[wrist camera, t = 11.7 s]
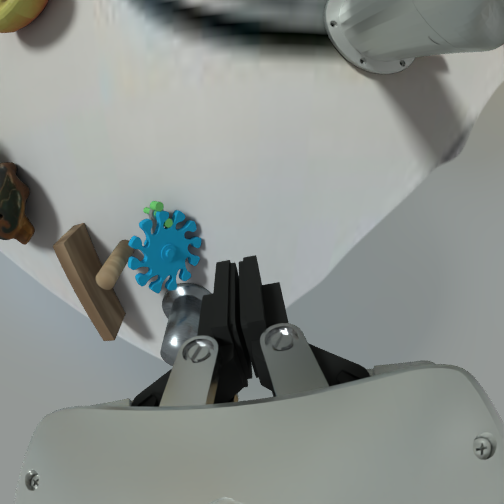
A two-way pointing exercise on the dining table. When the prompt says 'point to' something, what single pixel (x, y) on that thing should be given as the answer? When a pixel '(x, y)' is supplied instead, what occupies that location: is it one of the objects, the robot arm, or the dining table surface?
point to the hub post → (181, 317)
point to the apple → (19, 13)
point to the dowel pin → (114, 265)
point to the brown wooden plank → (89, 281)
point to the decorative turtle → (13, 206)
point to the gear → (164, 248)
